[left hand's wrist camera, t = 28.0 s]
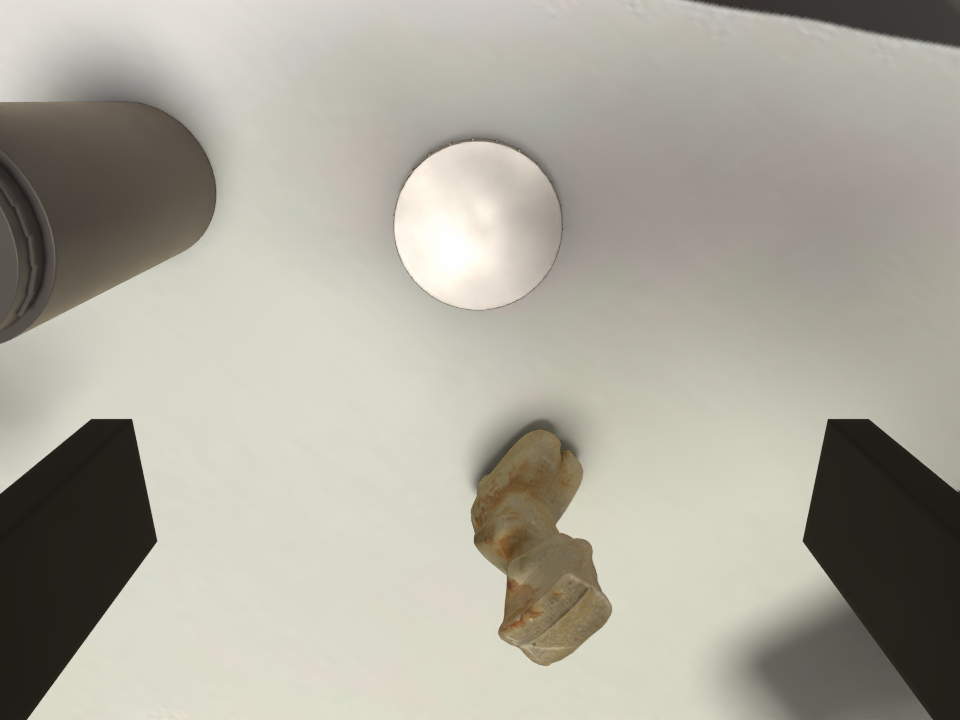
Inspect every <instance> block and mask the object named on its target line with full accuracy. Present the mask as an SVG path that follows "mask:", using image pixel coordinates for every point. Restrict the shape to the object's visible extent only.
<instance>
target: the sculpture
mask: <svg viewBox="0 0 960 720" xmlns="http://www.w3.org/2000/svg"><path fill="white" fill-rule="evenodd" d="M560 447H561V443H560V441H559V439H558V438H557V437H556V436H555V435H554V434H553V433H551V432H549V431H546V430H542V429H539V430H534V431H531V432H529V433H527V434H525V435H524V436H523V437H522V438H520V439H519V440H518V441H517V442H516V443H515V444H514V445H513V447H512V448H511V449H510V450H509V451H508V452H507V454H506V455H505V456H504V457H503V458H502V459H501V461H500V462H499V463H498V465H497V466H496V467H495V468H494V469H493V471H492V472H491V473H490V474H486V475H484V476H483V478H482V479H481V480H480V482H479V484H478V490H477V497H476V499H475V502H474V504H473V506H472V509H471V521H472V524H473V528H474V532H475V535H474V544H475V546H476V547H477V549H478V550H479V551H480V552H481V554H482V555H483V556H484V557H485V558H486V559H487V560H488V561H489V562H491V563H492V564H493V565H494V566H496V567H497V568H498V569H499V570H501V571H502V572H503V573H504V574H506V575H507V590H506V599H505V611H504V620H503V623H502V624H501V626H500V628H499V631H498V634H499V636H500V638H501V639H502V640H504V641H505V642H507V643H509V644H510V645H513V646H516V647H518V648H520V649H521V650H522V651H523V653H524V654H525V655H526V656H527V657H528V658H529V659H530V660H531V661H533V662H535V663H537V664H539V665H543V666H548V665H550V664H551V663H554V662H557V661H560V660H562V659H564V658H565V657H567V656H568V655H570V654H571V653H573V652H574V651H575V650H576V649H577V648H578V647H579V646H580V645H582V644H583V643H584V642H585V641H586V640H587V639H588V638H589V637H591V636H592V635H593V634H594V633H595V632H597V631H598V630H599V629H600V628H602V627H603V626H604V624H605V623H606V622H607V620H608V619H609V617H610V615H611V613H612V606H611V604H610V602H609V600H608V598H607V597H606V596H605V594H604V593H603V592H602V590H601V588H600V586H599V583H598V580H597V573H596V569H595V567H594V564H593V560H592V552H593V551H592V546H591V544H590V543H589V542H588V541H586V540H584V539H579V538H576V539H573V538H572V537H570V536H568V535H566V534H563V533H559V531H558V529H557V527H556V523H557V522H558V520H559V519H560V518H561V516H562V515H563V513H564V512H565V510H566V509H567V507H568V506H569V504H570V502H571V501H572V499H573V497H574V495H575V494H576V492H577V490H578V488H579V486H580V484H581V481H582V477H583V468H582V466H581V464H580V462H579V461H578V460H577V458H576V457H575V456H574V455H573V453H572V452H571V451H570V450H563V451H560Z"/></svg>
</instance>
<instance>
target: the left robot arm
mask: <svg viewBox="0 0 960 720" xmlns="http://www.w3.org/2000/svg"><path fill="white" fill-rule="evenodd" d="M156 542H157V538H156V533H155V528H154V523H153V518H152V513H151V508H150V504H149V499H148V494H147V489H146V484H145V479H144V475H143V470H142V465H141V460H140V455H139V450H138V446H137V441H136V436H135V431H134V426H133V421H132V419H91V420H90V421H89V422H87V423H86V424H85V425H84V426H82V427H81V428H80V429H79V430H78V431H76V432H75V433H74V434H73V435H71V436H70V437H69V438H68V439H67V440H65V441H64V442H63V443H62V444H61V445H59V446H58V447H57V448H56V449H54V450H53V451H52V452H51V453H50V454H48V455H47V456H46V457H45V458H43V459H42V460H41V461H40V462H39V463H37V464H36V465H35V466H34V467H33V468H31V469H30V470H29V471H28V472H26V473H25V474H24V475H23V476H22V477H20V478H19V479H18V480H17V481H15V482H14V483H13V484H12V485H11V486H9V487H8V488H7V489H6V490H5V491H3V492H2V493H1V494H0V720H27V719H28V717H29V716H30V715H31V713H32V712H33V711H34V709H35V708H36V707H37V705H38V704H39V702H40V701H41V700H42V698H43V697H44V696H45V694H46V693H47V691H48V690H49V689H50V687H51V686H52V685H53V683H54V682H55V681H56V679H57V678H58V676H59V675H60V674H61V672H62V671H63V670H64V668H65V667H66V665H67V664H68V663H69V661H70V660H71V659H72V657H73V656H74V655H75V653H76V652H77V650H78V649H79V648H80V646H81V645H82V644H83V642H84V641H85V639H86V638H87V637H88V635H89V634H90V633H91V631H92V630H93V629H94V627H95V626H96V624H97V623H98V622H99V620H100V619H101V618H102V616H103V615H104V613H105V612H106V611H107V609H108V608H109V607H110V605H111V604H112V603H113V601H114V600H115V598H116V597H117V596H118V594H119V593H120V592H121V590H122V589H123V587H124V586H125V585H126V583H127V582H128V581H129V579H130V578H131V577H132V575H133V574H134V572H135V571H136V570H137V568H138V567H139V566H140V564H141V563H142V562H143V560H144V559H145V557H146V556H147V555H148V553H149V552H150V551H151V549H152V548H153V546H154V545H155V544H156ZM803 542H804V544H805V545H806V546H807V548H808V549H809V551H810V552H811V553H812V555H813V556H814V557H815V559H816V560H817V562H818V563H819V564H820V566H821V567H822V568H823V570H824V571H825V572H826V574H827V575H828V577H829V578H830V579H831V581H832V582H833V583H834V585H835V586H836V588H837V589H838V590H839V592H840V593H841V594H842V596H843V597H844V598H845V600H846V601H847V603H848V604H849V605H850V607H851V608H852V609H853V611H854V612H855V613H856V615H857V616H858V618H859V619H860V620H861V622H862V623H863V624H864V626H865V627H866V629H867V630H868V631H869V633H870V634H871V635H872V637H873V638H874V639H875V641H876V642H877V644H878V645H879V646H880V648H881V649H882V650H883V652H884V653H885V655H886V656H887V657H888V659H889V660H890V661H891V663H892V664H893V665H894V667H895V668H896V670H897V671H898V672H899V674H900V675H901V676H902V678H903V679H904V681H905V682H906V683H907V685H908V686H909V687H910V689H911V690H912V691H913V693H914V694H915V696H916V697H917V698H918V700H919V701H920V702H921V704H922V705H923V707H924V708H925V709H926V711H927V712H928V713H929V715H930V716H931V717H932V719H933V720H960V494H959V493H958V492H957V491H955V490H954V489H953V488H952V487H951V486H949V485H948V484H947V483H946V482H945V481H943V480H942V479H941V478H940V477H938V476H937V475H936V474H935V473H934V472H932V471H931V470H930V469H929V468H927V467H926V466H925V465H924V464H923V463H921V462H920V461H919V460H918V459H917V458H915V457H914V456H913V455H912V454H910V453H909V452H908V451H907V450H906V449H904V448H903V447H902V446H901V445H899V444H898V443H897V442H896V441H895V440H893V439H892V438H891V437H890V436H889V435H887V434H886V433H885V432H884V431H882V430H881V429H880V428H879V427H878V426H876V425H875V424H874V423H873V422H871V421H870V420H869V419H828V421H827V426H826V431H825V436H824V441H823V446H822V450H821V455H820V460H819V465H818V470H817V475H816V479H815V484H814V489H813V494H812V499H811V504H810V508H809V513H808V518H807V523H806V528H805V533H804V538H803Z"/></svg>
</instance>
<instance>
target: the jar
mask: <svg viewBox="0 0 960 720" xmlns="http://www.w3.org/2000/svg"><path fill="white" fill-rule="evenodd" d="M215 199H216V190H215V181H214V176H213V172H212V169H211V166H210V163H209V161H208V159H207V157H206V155H205V153H204V151H203V149H202V148H201V146H200V144H199V143H198V141H197V140H196V139H195V138H194V137H193V135H192V134H191V133H190V132H189V131H188V130H187V129H186V128H185V127H184V126H183V125H182V124H181V123H179V122H178V121H177V120H175V119H174V118H173V117H171V116H169V115H168V114H166V113H164V112H163V111H160V110H158V109H156V108H154V107H151V106H148V105H144V104H140V103H134V102H0V344H1V343H4V342H6V341H9V340H11V339H13V338H15V337H17V336H19V335H21V334H23V333H25V332H27V331H29V330H31V329H33V328H34V327H36V326H38V325H40V324H42V323H44V322H46V321H48V320H50V319H52V318H54V317H56V316H58V315H60V314H62V313H64V312H66V311H68V310H70V309H72V308H74V307H76V306H78V305H80V304H81V303H83V302H85V301H87V300H89V299H91V298H93V297H95V296H97V295H99V294H101V293H103V292H105V291H107V290H109V289H111V288H113V287H115V286H117V285H119V284H121V283H123V282H125V281H126V280H128V279H130V278H132V277H134V276H136V275H138V274H140V273H142V272H144V271H146V270H148V269H150V268H152V267H154V266H156V265H158V264H160V263H162V262H164V261H166V260H168V259H170V258H171V257H173V256H175V255H177V254H179V253H181V252H183V251H185V250H186V249H188V248H190V247H191V246H192V245H193V244H195V243H196V242H197V241H198V240H199V239H200V238H201V236H202V235H203V234H204V232H205V231H206V229H207V228H208V225H209V223H210V221H211V219H212V215H213V212H214V207H215Z"/></svg>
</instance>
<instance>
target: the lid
mask: <svg viewBox="0 0 960 720" xmlns="http://www.w3.org/2000/svg"><path fill="white" fill-rule="evenodd" d="M539 166H540V165H539V164H538V163H537V162H536V163H535V162H534V161H533V160H532V159H530V158H529V157H528V156H527V155H525V154H524V153H522V152H521V150H520V149H519V148H518V149H516V148H514V147H511V146H509V145H507V144H504V143H501V142H498V140H496V141H492V140H486V139H475V138H473V139H471V140H463V141H459V142H455V143H452V142H450V143H449V145H447V146H444V147H442V148H440V149H439V150H437V151H435V152H433V153H432V154H431V153H429V154H428V157H427V158H426V159H424V160H423V161H422V162H421V163H420V164H419V165H418V166H417V167H416V168H415V169H413V170H412V171H411V175H410V176H409V177H408V179H407V180H406V182H405V184H404V186H403V188H402V189H401V190H400V191H399V193H400V195H399V197H398V200H397V204H396V208H395V213H394V214H393V216H394V239H395V244H396V247H397V251H398V254H399V256H400V259H401V261H402V263H403V265H404V267H405V269H406V270H407V272H408V274H409V275H410V276H411V277H412V279H413V280H414V281H415V282H416V283H417V284H418V285H419V286H420V287H421V288H422V289H423V290H424V291H425V292H427V293H428V294H429V295H431V296H432V297H434V298H435V299H437V300H439V301H441V302H443V303H445V304H448V305H450V306H454V307H457V308H461V309H468V310H488V309H495V308H499V307H503V306H506V305H508V304H511V303H513V302H515V301H517V300H519V299H521V298H523V297H524V296H525V295H527V294H528V293H530V292H531V291H532V290H533V289H534V288H535V287H537V286H538V285H539V284H540V282H541V281H542V280H543V279H544V278H545V277H546V275H547V274H548V272H549V270H550V269H551V267H552V265H553V263H554V261H555V259H556V257H557V254H558V252H559V248H560V243H561V238H562V230H563V228H562V213H561V208H560V207H561V205H560V203H559V200H558V197H557V194H556V192H555V190H554V188H553V186H552V185H553V183H552V182H551V181H549V179H548V178H547V176H546V175H545V173H544V172H543V171H542V170H541V169H540V168H539Z"/></svg>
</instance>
